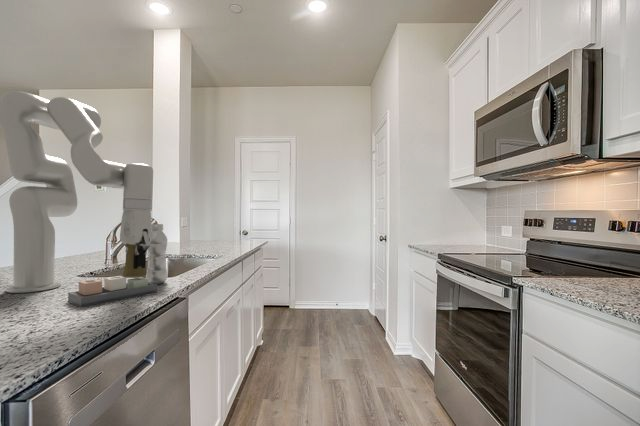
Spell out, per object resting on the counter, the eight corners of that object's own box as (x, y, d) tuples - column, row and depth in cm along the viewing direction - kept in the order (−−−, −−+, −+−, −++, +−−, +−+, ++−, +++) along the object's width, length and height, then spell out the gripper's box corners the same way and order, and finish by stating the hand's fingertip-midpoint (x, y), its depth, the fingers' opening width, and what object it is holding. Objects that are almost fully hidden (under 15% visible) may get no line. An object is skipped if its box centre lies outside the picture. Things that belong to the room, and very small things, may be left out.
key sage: (127, 289, 94) (127, 278, 94) (141, 287, 97) (141, 276, 97) (133, 291, 91) (133, 280, 91) (147, 288, 94) (148, 278, 94)
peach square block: (78, 292, 84) (78, 281, 84) (96, 290, 87) (96, 278, 87) (84, 295, 81) (84, 283, 81) (102, 292, 85) (102, 280, 85)
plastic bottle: (144, 286, 102) (144, 224, 102) (147, 282, 108) (147, 224, 108) (166, 285, 104) (166, 224, 104) (168, 281, 110) (168, 224, 110)
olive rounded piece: (136, 277, 90) (137, 238, 90) (118, 275, 92) (119, 237, 92) (151, 273, 96) (152, 237, 96) (134, 271, 98) (135, 236, 98)
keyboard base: (68, 302, 84) (68, 292, 84) (142, 288, 99) (142, 280, 99) (81, 308, 79) (81, 298, 79) (157, 293, 94) (157, 284, 94)
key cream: (104, 288, 89) (104, 277, 89) (119, 286, 92) (120, 275, 92) (110, 290, 86) (110, 279, 86) (126, 288, 90) (126, 277, 90)
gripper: (111, 204, 96) (109, 265, 96) (138, 205, 86) (135, 272, 86) (137, 205, 102) (135, 262, 102) (165, 206, 92) (162, 269, 92)
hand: (135, 266), depth 94 cm, fingers closed on olive rounded piece, 4 cm apart
